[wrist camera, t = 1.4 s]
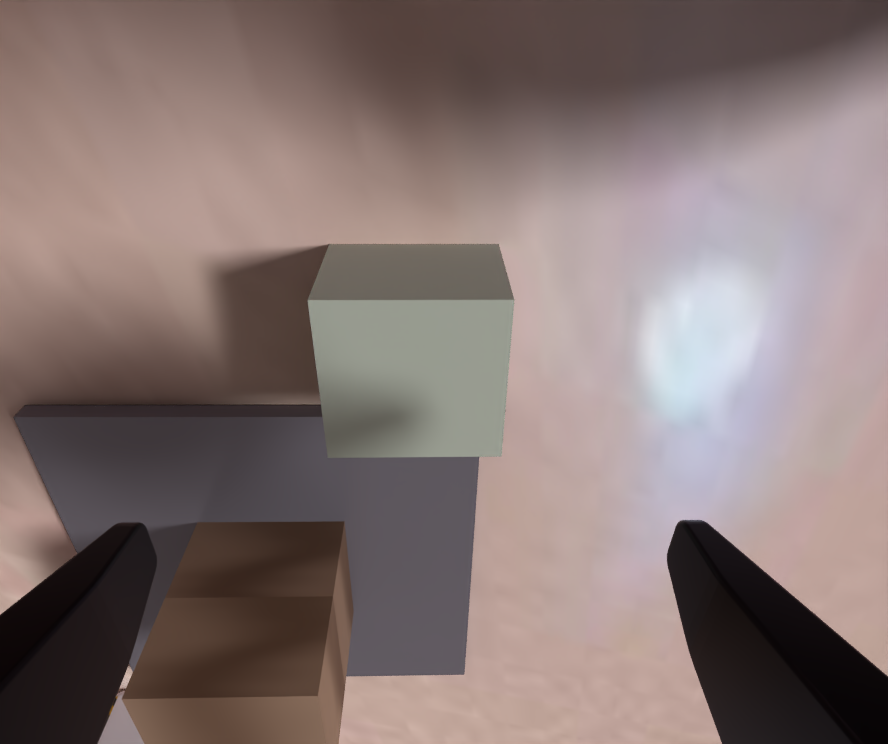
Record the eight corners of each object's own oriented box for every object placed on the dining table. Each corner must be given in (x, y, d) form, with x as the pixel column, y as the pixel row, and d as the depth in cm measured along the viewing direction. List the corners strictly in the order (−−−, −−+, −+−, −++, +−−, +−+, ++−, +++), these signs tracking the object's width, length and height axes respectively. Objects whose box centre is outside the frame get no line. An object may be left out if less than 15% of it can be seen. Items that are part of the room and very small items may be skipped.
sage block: (498, 242, 16) (514, 299, 13) (489, 381, 18) (501, 456, 15) (329, 242, 16) (307, 300, 13) (343, 382, 18) (327, 457, 15)
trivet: (480, 405, 19) (481, 416, 18) (463, 661, 26) (464, 674, 26) (24, 405, 18) (13, 417, 18) (142, 665, 26) (136, 679, 25)
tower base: (344, 521, 20) (333, 596, 18) (353, 611, 23) (344, 687, 20) (197, 522, 20) (164, 598, 18) (223, 612, 23) (199, 689, 20)
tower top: (333, 596, 18) (317, 695, 15) (344, 687, 20) (333, 784, 18) (164, 598, 18) (121, 699, 15) (199, 689, 20) (167, 788, 18)
